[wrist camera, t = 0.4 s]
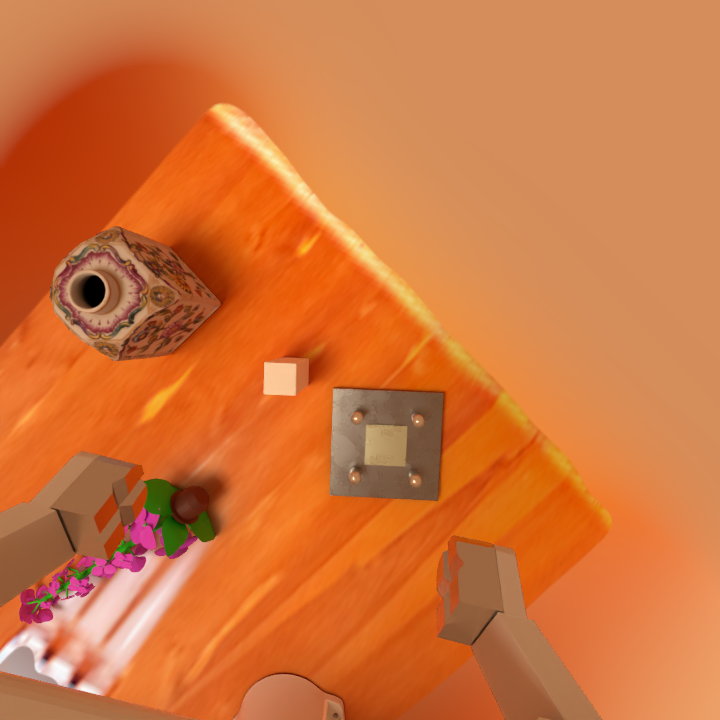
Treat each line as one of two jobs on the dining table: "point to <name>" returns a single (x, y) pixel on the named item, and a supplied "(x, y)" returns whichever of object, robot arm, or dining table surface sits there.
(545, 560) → the dining table surface
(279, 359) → the post
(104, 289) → the decorative jar
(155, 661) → the dining table surface
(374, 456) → the grey square base plate
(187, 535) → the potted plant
